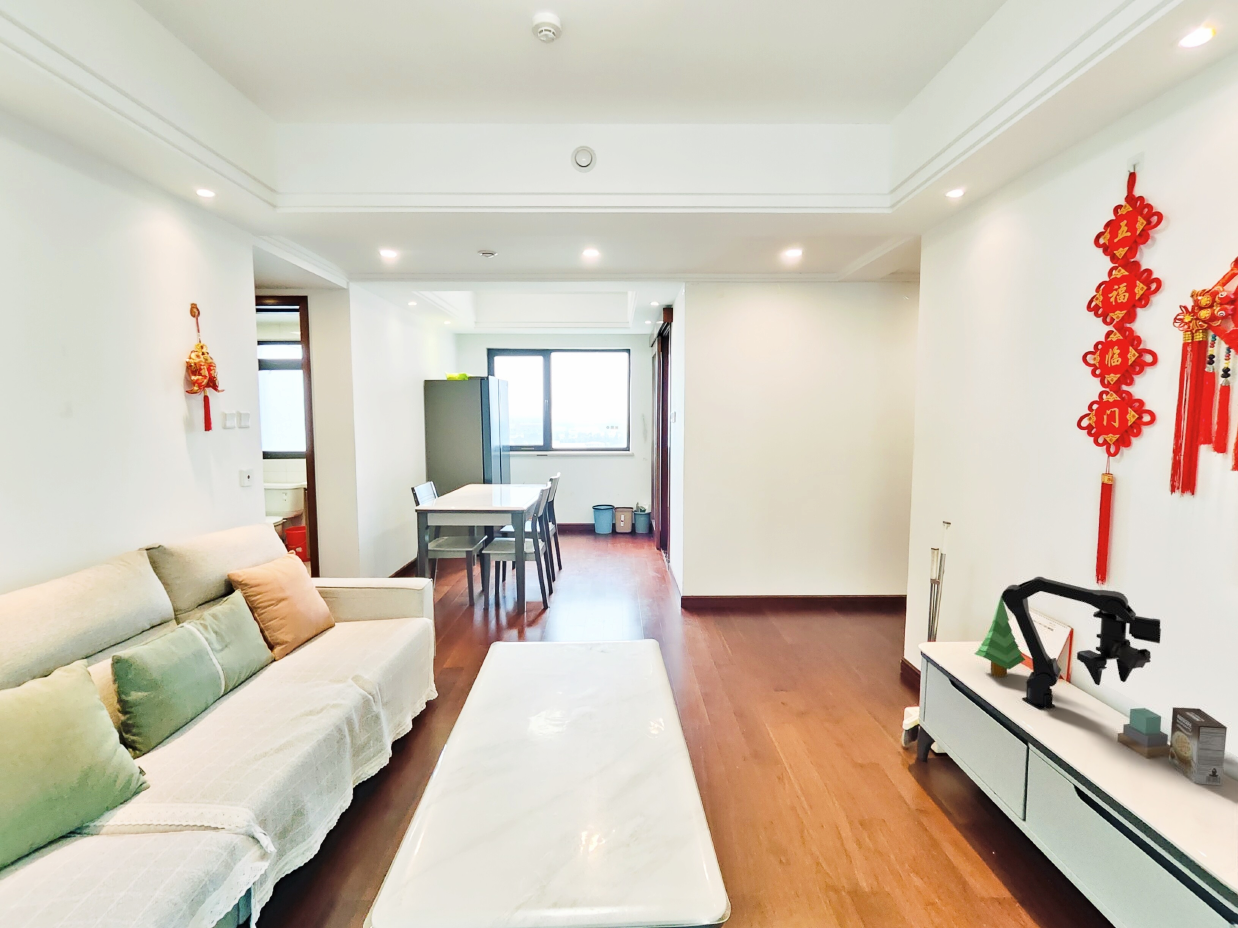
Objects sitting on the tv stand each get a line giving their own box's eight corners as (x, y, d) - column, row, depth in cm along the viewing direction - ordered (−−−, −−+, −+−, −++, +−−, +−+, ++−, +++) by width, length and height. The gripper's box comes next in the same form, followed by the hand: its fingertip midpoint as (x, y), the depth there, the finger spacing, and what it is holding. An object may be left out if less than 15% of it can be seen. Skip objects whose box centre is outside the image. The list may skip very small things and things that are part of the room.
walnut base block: (1117, 742, 160) (1117, 733, 160) (1140, 739, 162) (1141, 729, 161) (1147, 759, 152) (1147, 749, 152) (1171, 756, 154) (1172, 746, 153)
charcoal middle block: (1123, 734, 160) (1123, 724, 159) (1142, 731, 160) (1143, 721, 160) (1147, 747, 153) (1147, 737, 153) (1167, 744, 154) (1167, 734, 154)
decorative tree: (965, 669, 206) (967, 591, 204) (996, 662, 211) (999, 586, 208) (1000, 686, 193) (1003, 603, 191) (1032, 678, 198) (1036, 597, 195)
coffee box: (1167, 761, 151) (1170, 705, 149) (1194, 763, 150) (1198, 707, 148) (1194, 783, 142) (1198, 724, 140) (1224, 786, 141) (1228, 726, 139)
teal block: (1129, 725, 159) (1130, 708, 158) (1143, 724, 159) (1144, 707, 159) (1145, 734, 154) (1146, 717, 154) (1160, 733, 155) (1161, 716, 154)
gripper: (1114, 647, 158) (1111, 699, 159) (1168, 641, 160) (1165, 692, 162) (1076, 632, 168) (1074, 681, 170) (1128, 627, 171) (1125, 675, 173)
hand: (1110, 682), depth 168 cm, fingers open, 9 cm apart
